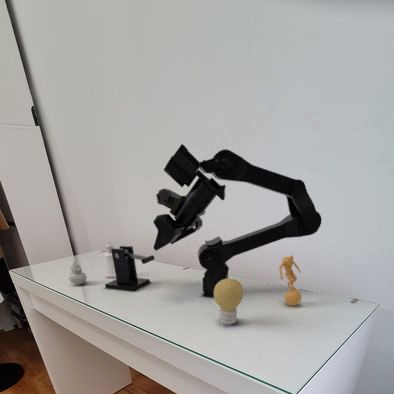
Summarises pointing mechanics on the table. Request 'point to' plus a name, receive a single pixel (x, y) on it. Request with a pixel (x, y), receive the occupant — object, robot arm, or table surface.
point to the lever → (139, 257)
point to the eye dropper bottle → (109, 261)
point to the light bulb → (228, 299)
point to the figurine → (293, 294)
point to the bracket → (125, 271)
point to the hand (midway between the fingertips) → (163, 246)
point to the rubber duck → (77, 275)
